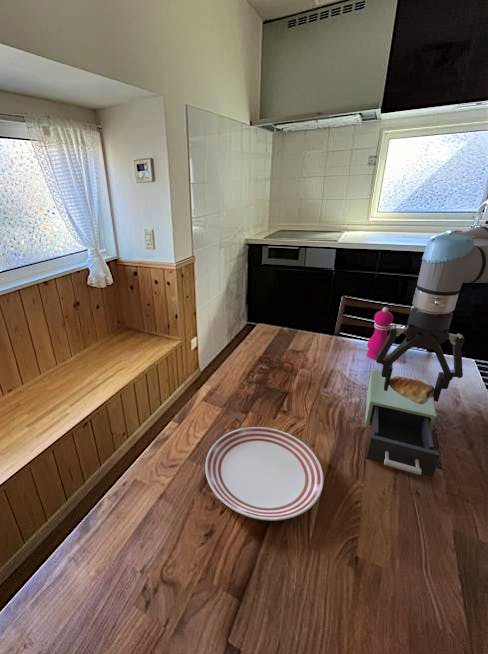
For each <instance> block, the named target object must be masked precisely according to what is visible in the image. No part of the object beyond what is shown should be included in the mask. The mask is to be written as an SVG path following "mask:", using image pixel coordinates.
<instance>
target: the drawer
mask: <svg viewBox="0 0 488 654" xmlns="http://www.w3.org/2000/svg"><path fill="white" fill-rule="evenodd" d="M368 442H369V443H368V446H367V451H366V457H365V458H366V460H369V461H373V462H376V463H380V464H383V465H384V466H387V467H390V468H394V469H397V470H401V471H403V472H407V473H410V474H411V473H412V474H415V475H418V476H424V477H428V478H431V479H433V478H434V475H435V473H436V469H437V466H438V463H439V460H440V457H441V453H440V451H437V450H434V448H435V446H434V441H433V435H432V432H431V429H430V424H429V418H428V417H426V416H421V415H417V414H412V413H408V412H403V411H399V410H394V409H390V408H385V407H381V406H376V405H374V410H373V415H372V422H371V428H370V437H369V441H368Z"/></svg>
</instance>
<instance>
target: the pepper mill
mask: <svg viewBox="0 0 488 654" xmlns="http://www.w3.org/2000/svg"><path fill="white" fill-rule="evenodd" d="M373 319H374V325H373V327H374V331H373V334H372V336H370V337H369V339H368V341H367V344H366V347H367V352H366V356H367V357H368V358H369V359H370V360H371V359H372V360H373V361H376V356H377V354H378V352H379V351H380V349H381V347H382V345H383V344H384V342H385V340H386V339H387V337H388V331H390V326H391V325H392V323H393V321H394V315H393V313H392V312H390V311H389V308H388V307H385V306H384V307H383V308H382V309H381V310H379V311H376V313H375V314H374V317H373ZM386 357H387V355H386V356H385V357H384V358H386Z"/></svg>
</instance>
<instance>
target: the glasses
mask: <svg viewBox="0 0 488 654" xmlns="http://www.w3.org/2000/svg"><path fill="white" fill-rule="evenodd" d="M261 358H265V359H267V360H268V363H264V362H263V361H261ZM258 362H259V364H260V365H262V364H264V365H267V366H266V367H269V366H271V364H272V363H276V364H279V365H280V367H281V370H282V371H284V372H288V373H287V374H286V377H285V378H284V379H283V380H282V382H281V386H280V390H279V392H280V393H283V389H284V383H285V382H286V381H287V380H288V378H289V376H290V374H291V373H292V372H294V369H295V366H294V364H293V363H292V362H290V361H288V360H283V361H279V360H276V359H271V358H270V357H269V356H267V355H264V354H262V355H259V357H258V358H257V359H256V361H255V363H254V364H253V366H252V367H251V368H250V369H249V370H248V371H247V373H246V377H245V381H246V380H247V379H249V375H250V373H251V372H252V371H253V370H254V369H255V368H256V366H257V364H258ZM283 364H289V365H290V366H291V367H290V369H286V368H285V367H284V365H283ZM264 365H263V366H264ZM247 381H248V380H247Z"/></svg>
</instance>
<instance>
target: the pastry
mask: <svg viewBox="0 0 488 654" xmlns="http://www.w3.org/2000/svg"><path fill="white" fill-rule="evenodd" d="M389 386H390V387H391V388H392V389H393V390H394V391H396V392H397V393H398V394H400V395H402V396H403V397H405V398H407V399H410V400H411V401H412V402H414V403H418V404H424V403H426V402H427V401H428V400H429V398H433V396H434V388H435V386H434V385H432V384H430V385H428V384H426V383H424V382H422V381H420V380H418V379H410V378H406V377H398V376H395V377H392V378H390V382H389Z"/></svg>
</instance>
